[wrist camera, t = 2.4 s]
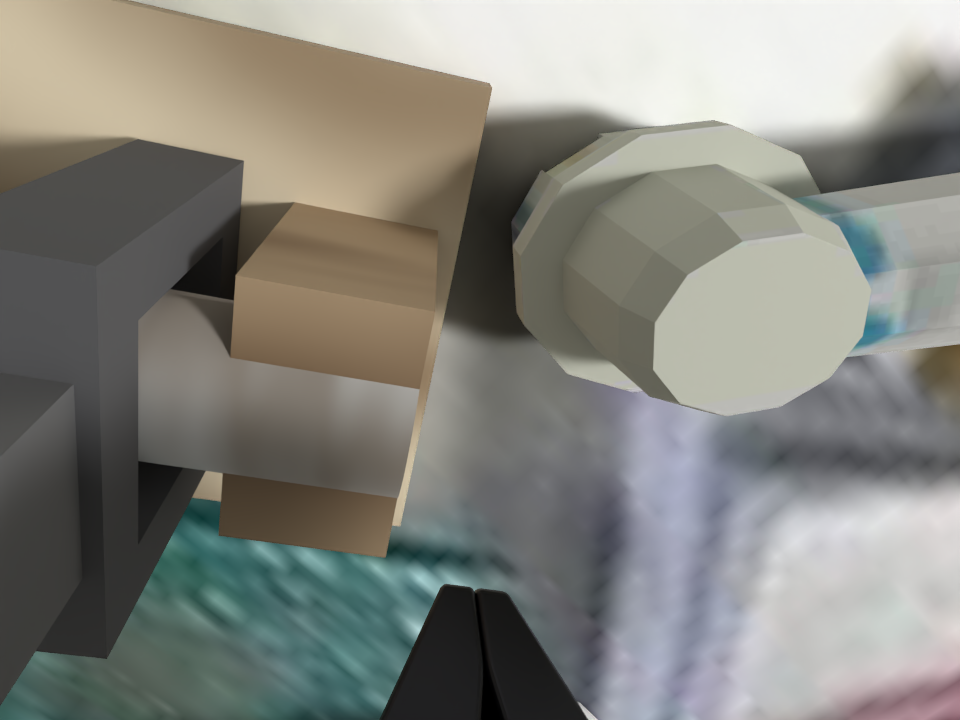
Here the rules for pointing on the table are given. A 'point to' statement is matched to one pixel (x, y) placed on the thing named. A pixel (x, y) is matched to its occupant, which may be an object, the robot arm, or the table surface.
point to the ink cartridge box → (587, 712)
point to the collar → (94, 383)
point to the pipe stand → (270, 248)
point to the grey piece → (728, 267)
